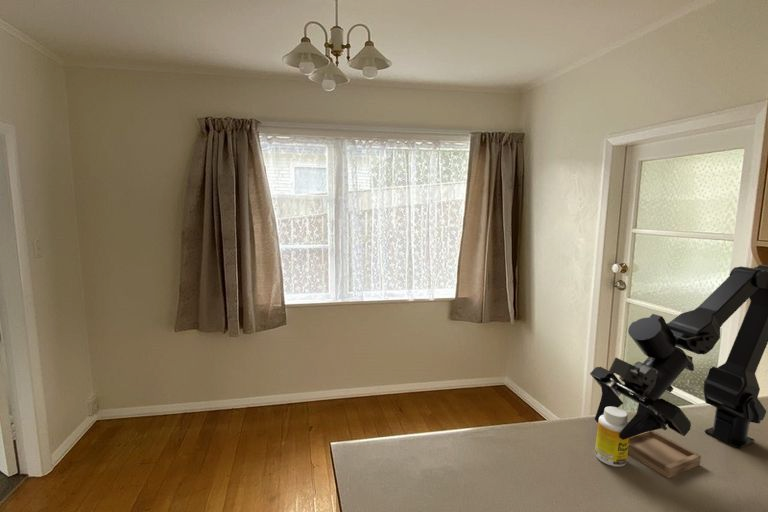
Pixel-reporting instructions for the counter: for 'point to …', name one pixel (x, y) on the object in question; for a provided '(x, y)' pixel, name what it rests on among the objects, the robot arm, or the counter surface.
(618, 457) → the supplement bottle
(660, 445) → the walnut tray
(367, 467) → the counter surface
